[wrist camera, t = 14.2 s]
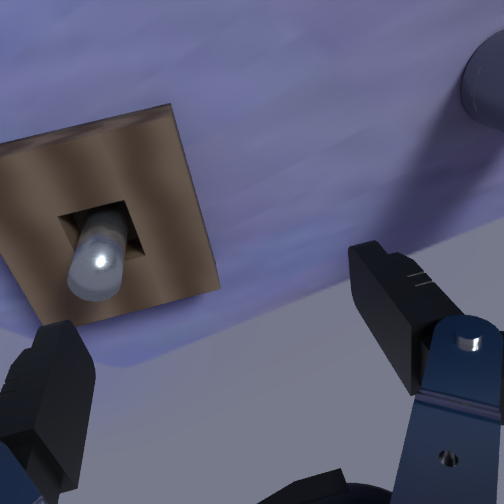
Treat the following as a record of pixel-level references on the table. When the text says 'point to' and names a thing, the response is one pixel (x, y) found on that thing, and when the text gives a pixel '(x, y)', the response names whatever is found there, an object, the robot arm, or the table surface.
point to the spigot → (100, 253)
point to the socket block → (97, 194)
